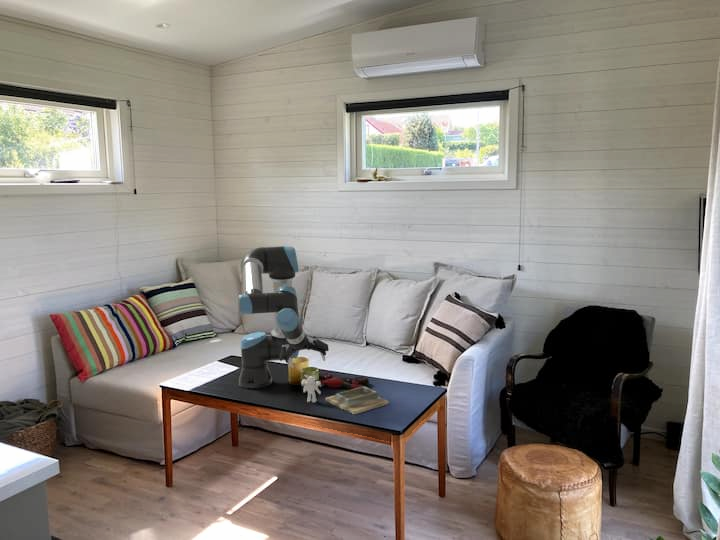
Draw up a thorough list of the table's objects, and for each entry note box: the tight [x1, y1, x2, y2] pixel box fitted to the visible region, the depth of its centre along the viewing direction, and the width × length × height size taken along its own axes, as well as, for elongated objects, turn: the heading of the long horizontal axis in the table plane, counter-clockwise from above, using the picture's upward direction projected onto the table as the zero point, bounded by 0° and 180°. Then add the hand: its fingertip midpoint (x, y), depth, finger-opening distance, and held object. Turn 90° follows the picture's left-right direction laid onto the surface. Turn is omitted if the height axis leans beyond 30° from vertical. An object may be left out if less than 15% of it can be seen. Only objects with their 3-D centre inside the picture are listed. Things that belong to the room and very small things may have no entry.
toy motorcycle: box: [318, 372, 370, 390], centre depth 268 cm, size 25×5×16 cm
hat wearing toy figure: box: [300, 374, 322, 403], centre depth 249 cm, size 9×4×12 cm, turn 69°
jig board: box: [325, 386, 389, 415], centre depth 248 cm, size 20×18×4 cm
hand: (308, 361), depth 245 cm, fingers open, 13 cm apart
